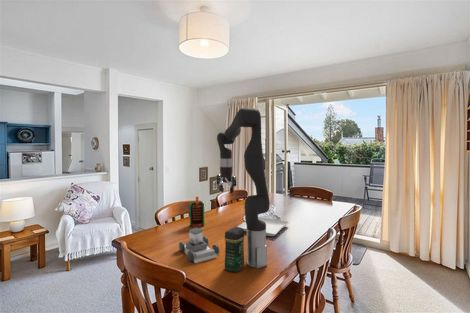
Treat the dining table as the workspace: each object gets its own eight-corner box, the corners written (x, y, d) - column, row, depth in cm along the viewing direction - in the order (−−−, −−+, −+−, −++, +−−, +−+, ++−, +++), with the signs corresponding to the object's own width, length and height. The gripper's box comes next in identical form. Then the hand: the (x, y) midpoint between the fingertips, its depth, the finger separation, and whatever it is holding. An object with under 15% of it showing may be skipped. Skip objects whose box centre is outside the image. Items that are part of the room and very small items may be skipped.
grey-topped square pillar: (202, 247, 137) (202, 229, 137) (195, 250, 133) (195, 232, 133) (196, 245, 140) (196, 227, 140) (189, 248, 137) (189, 229, 136)
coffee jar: (237, 274, 112) (236, 233, 111) (222, 270, 116) (221, 230, 115) (247, 265, 120) (246, 226, 119) (232, 261, 124) (232, 224, 123)
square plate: (254, 220, 189) (254, 215, 189) (289, 226, 175) (289, 221, 175) (235, 232, 166) (235, 226, 166) (275, 239, 152) (275, 233, 152)
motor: (190, 228, 173) (190, 199, 172) (189, 224, 182) (188, 196, 181) (205, 226, 176) (204, 198, 175) (203, 222, 185) (203, 195, 183)
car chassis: (220, 256, 130) (220, 246, 129) (191, 264, 122) (191, 254, 121) (203, 243, 147) (203, 234, 146) (178, 249, 139) (178, 240, 138)
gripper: (213, 165, 154) (213, 192, 155) (230, 167, 145) (230, 195, 146) (222, 164, 160) (222, 190, 161) (239, 166, 150) (239, 193, 151)
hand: (226, 192), depth 153 cm, fingers open, 8 cm apart
